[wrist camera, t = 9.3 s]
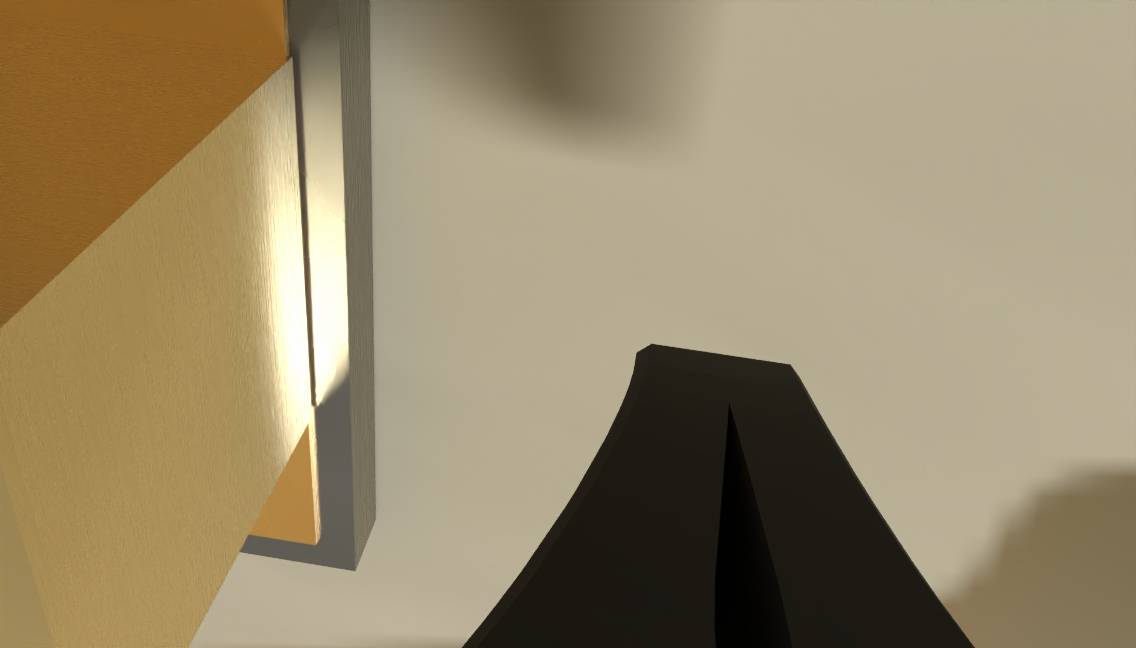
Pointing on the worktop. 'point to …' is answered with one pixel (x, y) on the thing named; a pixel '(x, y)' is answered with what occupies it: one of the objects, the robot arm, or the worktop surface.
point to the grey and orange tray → (329, 237)
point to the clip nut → (141, 326)
